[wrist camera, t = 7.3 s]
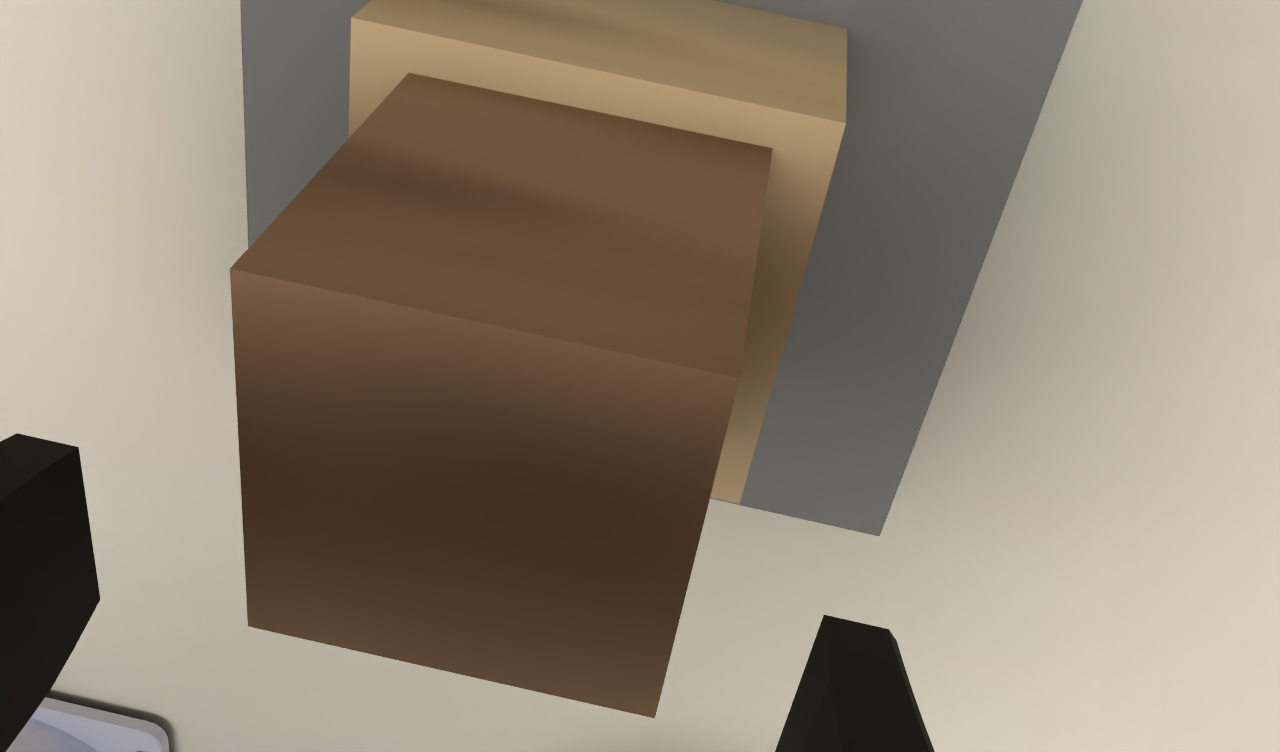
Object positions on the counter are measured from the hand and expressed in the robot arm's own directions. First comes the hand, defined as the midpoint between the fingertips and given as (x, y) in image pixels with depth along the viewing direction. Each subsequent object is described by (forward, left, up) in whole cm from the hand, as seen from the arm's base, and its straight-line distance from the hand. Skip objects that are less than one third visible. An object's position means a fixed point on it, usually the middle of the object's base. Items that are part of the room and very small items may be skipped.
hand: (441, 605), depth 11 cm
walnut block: (+1, 0, -6) cm, 6 cm away
